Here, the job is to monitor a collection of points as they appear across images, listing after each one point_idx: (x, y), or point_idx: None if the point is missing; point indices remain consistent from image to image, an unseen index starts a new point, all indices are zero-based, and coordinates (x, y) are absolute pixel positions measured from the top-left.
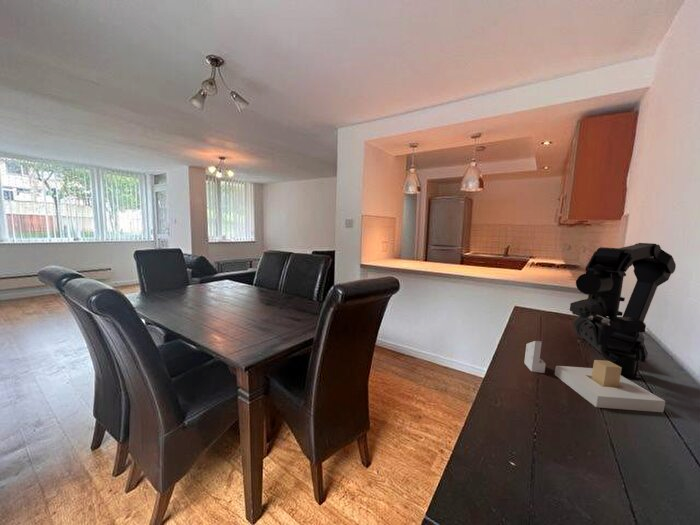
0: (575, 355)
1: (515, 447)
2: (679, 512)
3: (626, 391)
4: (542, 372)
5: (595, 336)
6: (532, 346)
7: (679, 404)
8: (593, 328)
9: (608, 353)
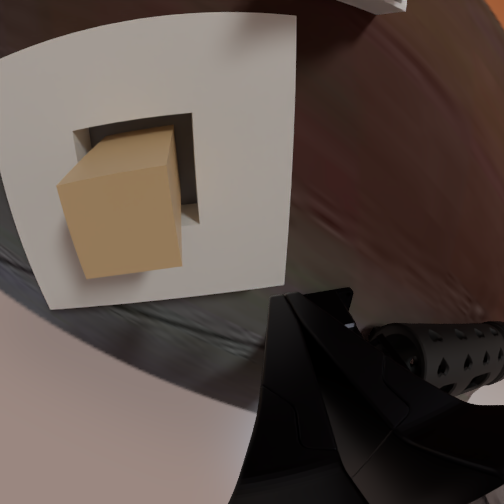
0: (433, 252)
1: None
2: None
3: (61, 219)
4: None
5: (336, 330)
6: None
7: (138, 350)
8: (408, 387)
9: (405, 341)
